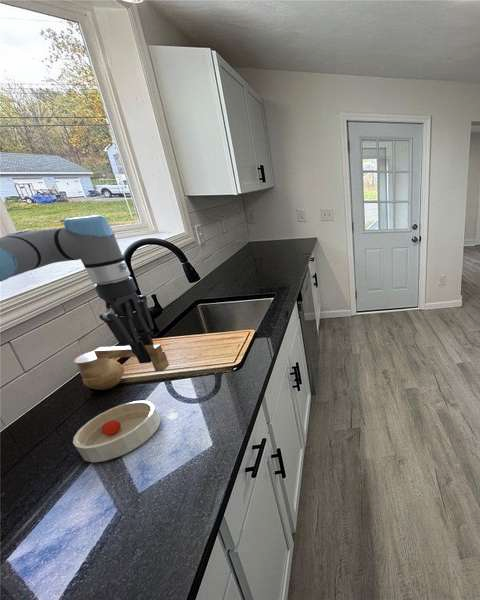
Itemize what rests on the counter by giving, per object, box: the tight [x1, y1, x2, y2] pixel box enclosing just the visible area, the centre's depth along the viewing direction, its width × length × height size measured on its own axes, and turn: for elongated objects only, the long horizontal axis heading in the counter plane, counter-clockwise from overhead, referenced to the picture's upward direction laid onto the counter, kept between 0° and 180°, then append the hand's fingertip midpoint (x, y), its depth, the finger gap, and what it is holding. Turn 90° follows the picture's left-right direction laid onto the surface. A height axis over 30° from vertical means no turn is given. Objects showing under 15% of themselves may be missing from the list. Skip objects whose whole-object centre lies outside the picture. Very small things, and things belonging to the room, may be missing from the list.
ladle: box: [73, 344, 170, 379], centre depth 86 cm, size 22×6×7 cm, turn 94°
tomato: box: [102, 420, 121, 435], centre depth 80 cm, size 4×4×4 cm
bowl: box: [72, 400, 161, 463], centre depth 78 cm, size 16×16×5 cm
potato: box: [82, 358, 125, 391], centre depth 99 cm, size 10×14×8 cm
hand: (148, 359), depth 87 cm, fingers closed on ladle, 2 cm apart
